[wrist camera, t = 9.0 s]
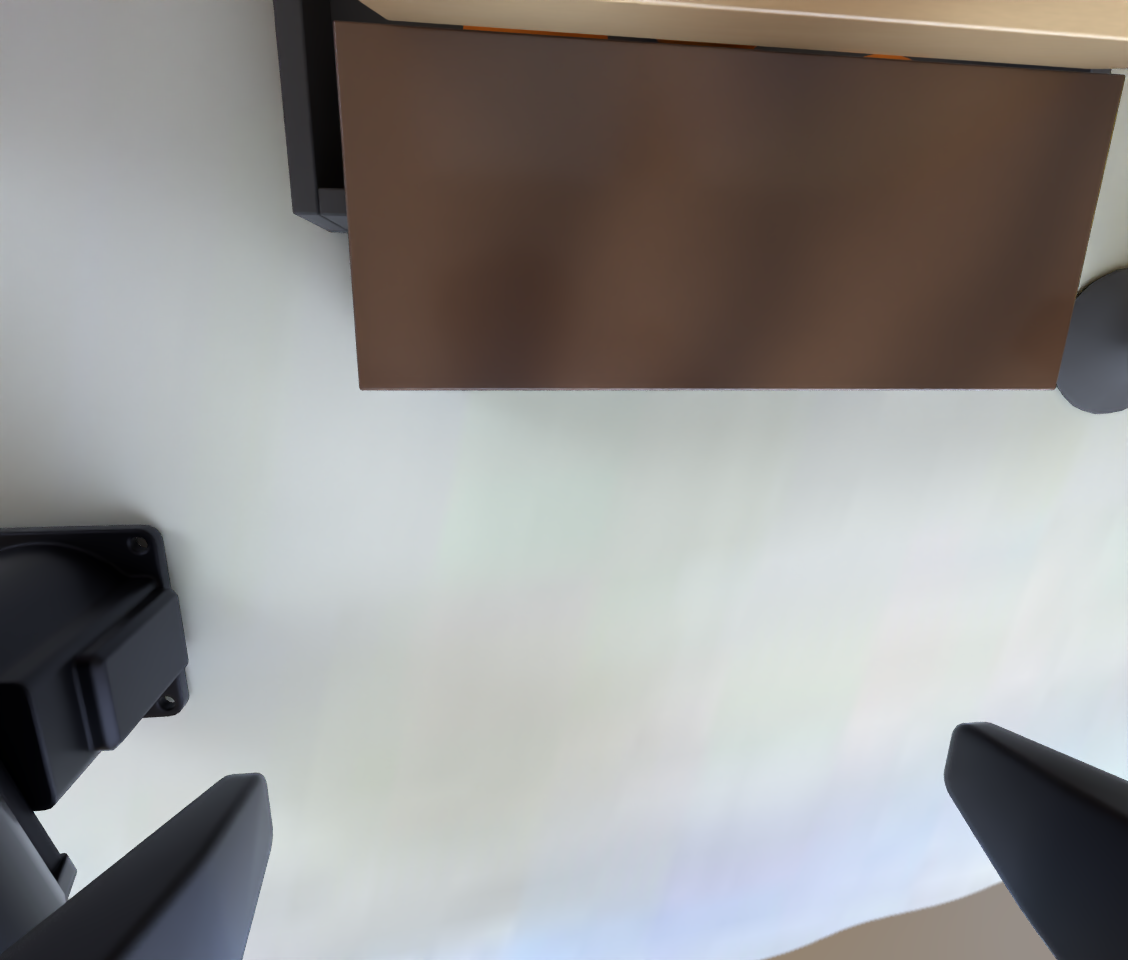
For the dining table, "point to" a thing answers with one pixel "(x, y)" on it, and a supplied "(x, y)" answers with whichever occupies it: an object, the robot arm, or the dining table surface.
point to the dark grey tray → (313, 107)
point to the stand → (709, 214)
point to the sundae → (1098, 347)
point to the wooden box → (822, 25)
